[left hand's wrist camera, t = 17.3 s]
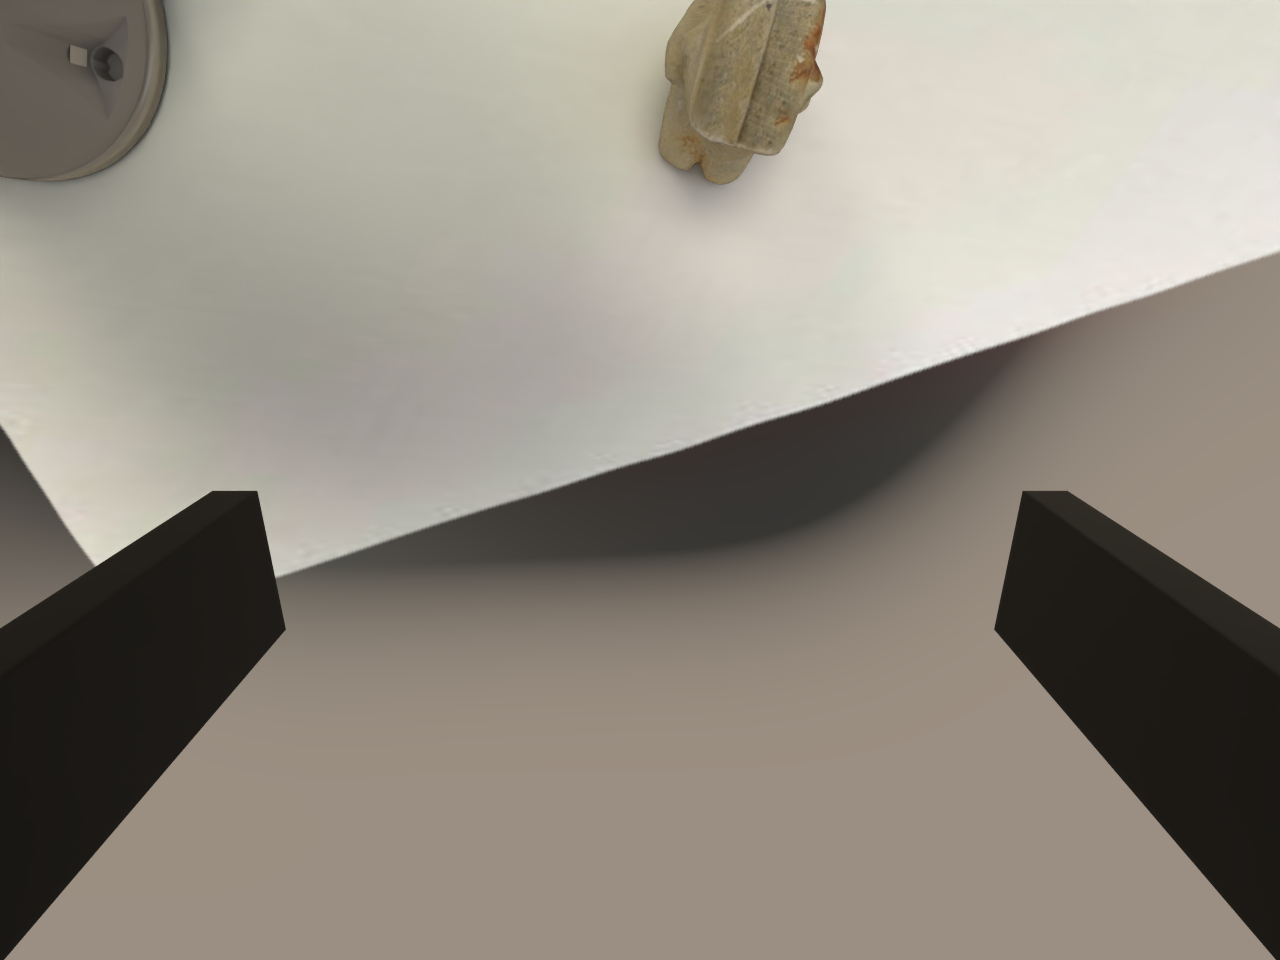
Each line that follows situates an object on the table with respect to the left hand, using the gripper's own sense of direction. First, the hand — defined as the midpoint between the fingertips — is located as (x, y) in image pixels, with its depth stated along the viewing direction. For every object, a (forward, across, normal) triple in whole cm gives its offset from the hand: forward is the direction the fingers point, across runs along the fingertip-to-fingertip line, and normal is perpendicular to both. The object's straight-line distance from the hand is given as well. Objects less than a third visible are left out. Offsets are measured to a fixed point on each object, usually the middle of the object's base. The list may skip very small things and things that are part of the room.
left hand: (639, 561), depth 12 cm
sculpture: (+29, -4, -11) cm, 31 cm away
